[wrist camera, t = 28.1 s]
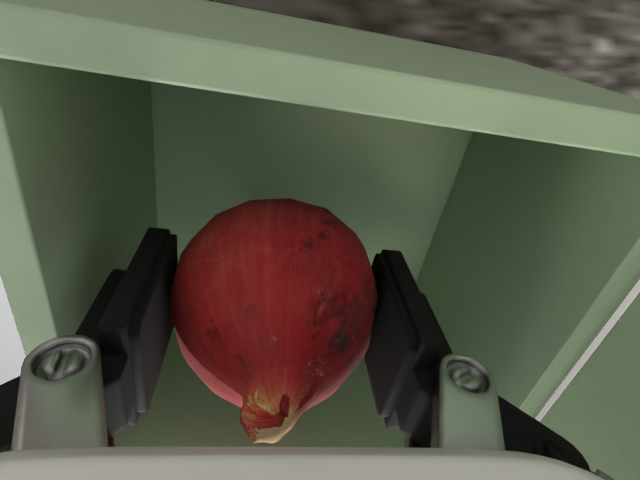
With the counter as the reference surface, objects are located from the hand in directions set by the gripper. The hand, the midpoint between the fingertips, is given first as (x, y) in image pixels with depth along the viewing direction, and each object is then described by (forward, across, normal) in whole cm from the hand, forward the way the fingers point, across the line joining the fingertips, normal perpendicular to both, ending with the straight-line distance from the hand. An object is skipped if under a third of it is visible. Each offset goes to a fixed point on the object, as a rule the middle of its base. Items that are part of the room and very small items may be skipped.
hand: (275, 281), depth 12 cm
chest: (+7, -2, 0) cm, 7 cm away
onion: (+3, 0, 0) cm, 3 cm away
